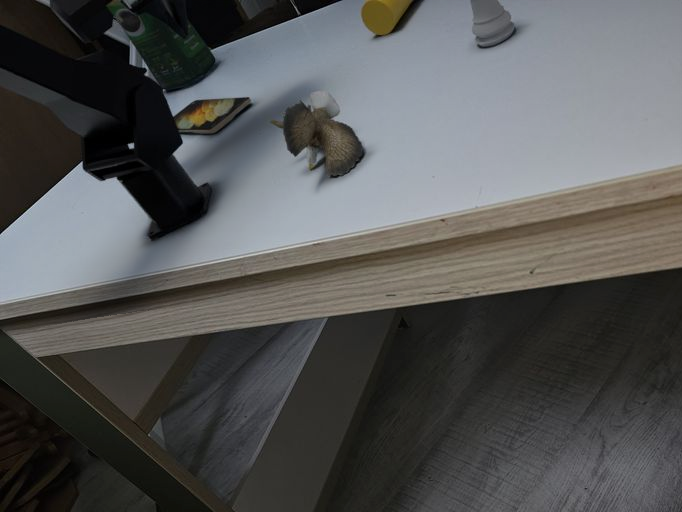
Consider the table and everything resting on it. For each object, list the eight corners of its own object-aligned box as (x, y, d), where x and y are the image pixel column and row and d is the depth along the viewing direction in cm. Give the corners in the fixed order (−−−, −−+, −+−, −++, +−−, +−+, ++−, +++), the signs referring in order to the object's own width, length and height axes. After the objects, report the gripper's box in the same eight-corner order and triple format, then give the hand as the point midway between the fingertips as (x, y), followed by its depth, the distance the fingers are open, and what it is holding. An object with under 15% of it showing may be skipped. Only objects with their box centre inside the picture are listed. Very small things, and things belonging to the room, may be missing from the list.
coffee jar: (226, 59, 109) (148, -66, 97) (197, 86, 104) (111, -42, 92) (186, 70, 114) (107, -47, 102) (157, 96, 109) (70, -24, 97)
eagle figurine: (269, 163, 69) (281, 176, 61) (268, 86, 66) (280, 90, 59) (346, 166, 72) (366, 179, 64) (347, 92, 69) (368, 96, 61)
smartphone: (194, 99, 97) (251, 96, 87) (197, 104, 98) (254, 101, 88) (156, 129, 94) (210, 129, 84) (159, 133, 95) (214, 134, 85)
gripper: (131, -182, 69) (210, -40, 83) (-24, -73, 66) (86, 55, 80) (188, -147, 65) (262, -3, 79) (25, -29, 62) (132, 99, 76)
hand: (184, 35), depth 78 cm, fingers closed
